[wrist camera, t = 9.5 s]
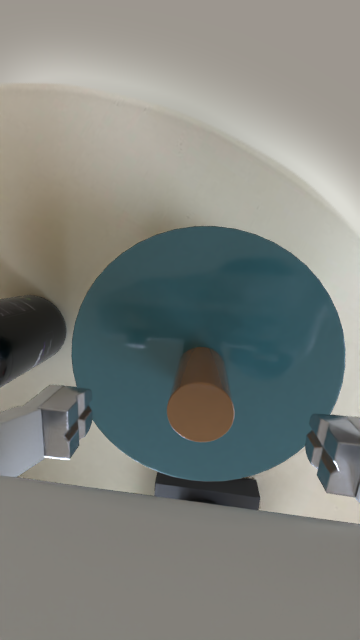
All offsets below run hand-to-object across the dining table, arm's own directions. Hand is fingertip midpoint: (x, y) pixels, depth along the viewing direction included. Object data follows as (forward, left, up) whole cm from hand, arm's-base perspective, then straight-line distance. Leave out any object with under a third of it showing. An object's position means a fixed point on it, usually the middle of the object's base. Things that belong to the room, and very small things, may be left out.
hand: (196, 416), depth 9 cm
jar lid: (0, 0, -5) cm, 5 cm away
